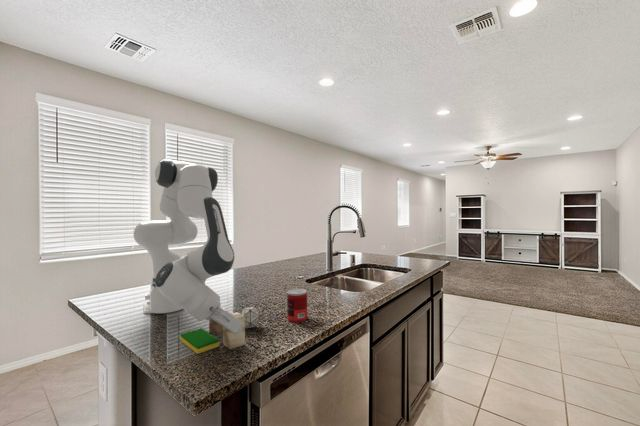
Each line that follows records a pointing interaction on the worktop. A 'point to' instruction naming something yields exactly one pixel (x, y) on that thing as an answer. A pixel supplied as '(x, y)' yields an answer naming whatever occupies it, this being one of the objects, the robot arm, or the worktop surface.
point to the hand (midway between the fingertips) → (235, 328)
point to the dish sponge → (199, 340)
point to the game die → (251, 316)
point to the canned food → (297, 305)
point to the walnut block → (215, 327)
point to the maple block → (231, 338)
